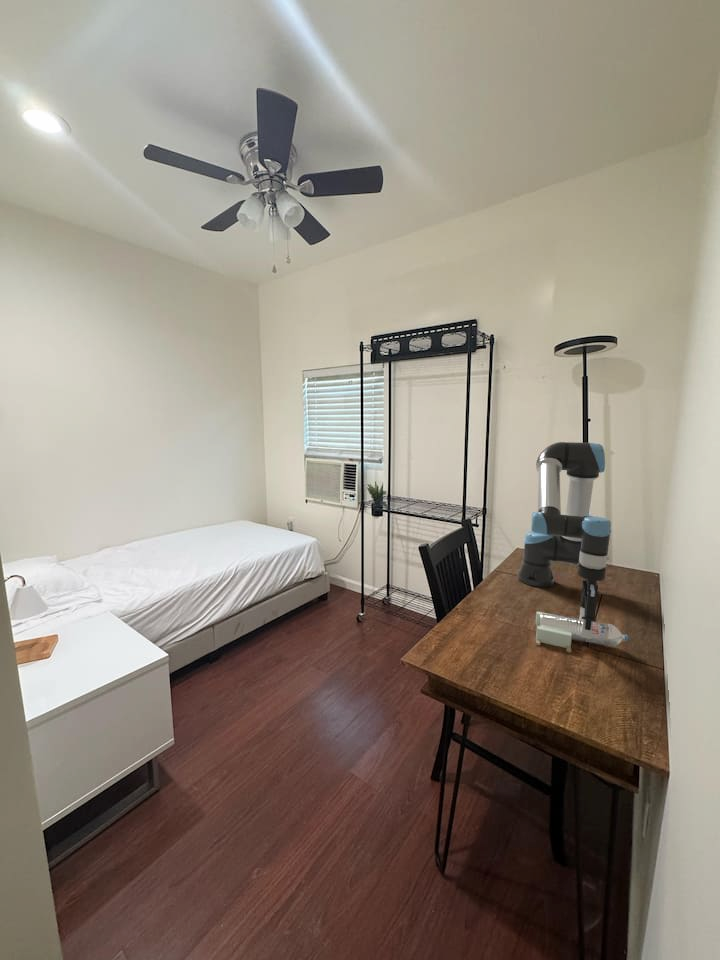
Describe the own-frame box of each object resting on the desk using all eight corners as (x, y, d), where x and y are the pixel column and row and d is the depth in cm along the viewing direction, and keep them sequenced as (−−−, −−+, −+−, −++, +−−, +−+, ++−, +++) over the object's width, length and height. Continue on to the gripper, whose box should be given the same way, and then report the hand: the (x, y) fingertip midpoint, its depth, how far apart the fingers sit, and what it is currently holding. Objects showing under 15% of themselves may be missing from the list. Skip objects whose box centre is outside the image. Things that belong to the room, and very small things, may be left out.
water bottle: (539, 637, 129) (628, 654, 118) (540, 619, 127) (630, 634, 117) (539, 626, 135) (624, 641, 124) (540, 609, 133) (626, 622, 123)
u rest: (536, 644, 124) (537, 631, 123) (535, 620, 140) (536, 608, 139) (570, 652, 120) (572, 639, 119) (566, 626, 136) (567, 614, 135)
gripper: (611, 578, 112) (602, 650, 115) (600, 557, 130) (593, 621, 133) (582, 573, 115) (574, 644, 118) (575, 554, 133) (569, 616, 136)
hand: (584, 632), depth 125 cm, fingers closed on water bottle, 7 cm apart
